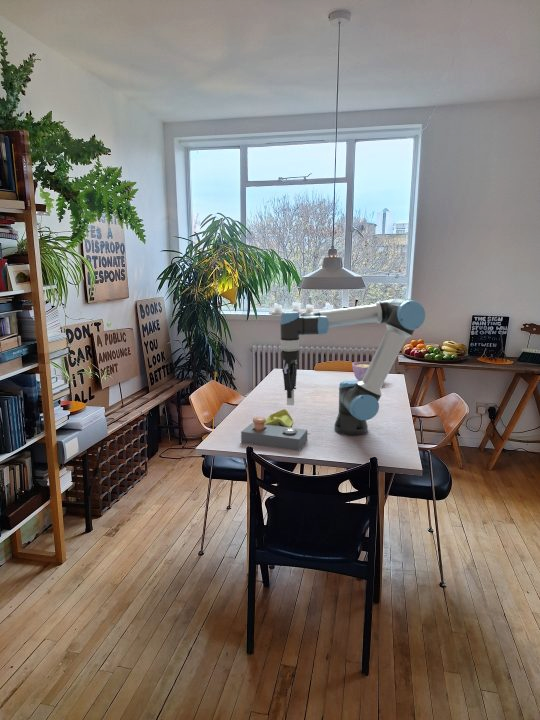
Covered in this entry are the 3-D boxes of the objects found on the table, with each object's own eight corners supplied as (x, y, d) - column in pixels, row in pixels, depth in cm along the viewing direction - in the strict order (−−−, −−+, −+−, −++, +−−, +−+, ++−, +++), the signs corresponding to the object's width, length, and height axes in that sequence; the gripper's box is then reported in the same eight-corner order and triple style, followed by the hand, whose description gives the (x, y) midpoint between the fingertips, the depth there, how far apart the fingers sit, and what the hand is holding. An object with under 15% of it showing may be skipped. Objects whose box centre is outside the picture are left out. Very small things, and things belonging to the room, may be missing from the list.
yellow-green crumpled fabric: (269, 415, 229) (287, 407, 227) (275, 428, 229) (293, 421, 227) (261, 425, 209) (281, 417, 207) (268, 440, 210) (288, 432, 208)
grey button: (298, 441, 199) (298, 428, 198) (294, 446, 194) (294, 432, 193) (285, 439, 201) (285, 426, 200) (281, 444, 196) (281, 431, 195)
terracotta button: (267, 430, 204) (267, 417, 202) (263, 434, 198) (262, 421, 197) (256, 429, 206) (255, 416, 204) (251, 433, 200) (250, 420, 199)
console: (307, 440, 201) (307, 429, 200) (298, 450, 190) (299, 439, 189) (252, 433, 210) (252, 422, 209) (241, 442, 199) (241, 431, 198)
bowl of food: (388, 381, 303) (389, 364, 300) (373, 387, 288) (374, 369, 286) (361, 376, 316) (362, 360, 313) (345, 382, 301) (346, 364, 299)
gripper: (286, 346, 197) (287, 399, 202) (275, 351, 185) (276, 408, 190) (303, 347, 194) (303, 401, 199) (293, 352, 182) (294, 410, 187)
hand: (290, 404), depth 194 cm, fingers closed
